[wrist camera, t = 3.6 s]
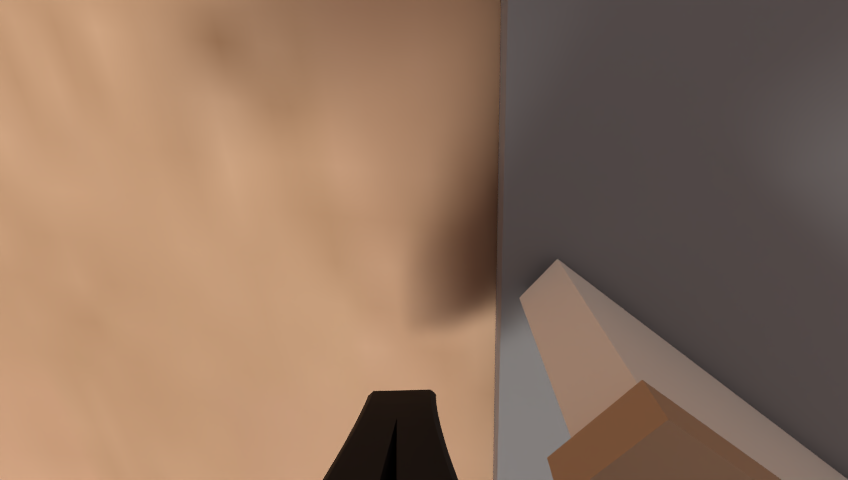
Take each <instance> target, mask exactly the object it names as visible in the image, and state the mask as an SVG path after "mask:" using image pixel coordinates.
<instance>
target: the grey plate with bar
mask: <svg viewBox="0 0 848 480" xmlns="http://www.w3.org/2000/svg"><path fill="white" fill-rule="evenodd" d="M557 259H558V260H560V261H561V262H562V263H564V264H565V265H566V266H568V267H569V268H570V269H571V270H573V271H574V272H575V273H577V274H578V275H579V276H581V277H582V278H583V279H585V280H586V281H587V282H589V283H590V284H591V285H593V286H594V287H595V288H596V289H598V290H599V291H600V292H602V293H603V294H604V295H606V296H607V297H608V298H610V299H611V300H612V301H614V302H615V303H616V304H618V305H619V306H620V307H622V308H623V309H624V310H625V311H627V312H628V313H629V314H631V315H632V316H633V317H635V318H636V319H637V320H639V321H640V322H641V323H643V324H644V325H645V326H647V327H648V328H649V329H650V330H652V331H653V332H654V333H656V334H657V335H658V336H660V337H661V338H662V339H664V340H665V341H666V342H668V343H669V344H670V345H672V346H673V347H674V348H675V349H677V350H678V351H679V352H681V353H682V354H683V355H685V356H686V357H687V358H689V359H690V360H691V361H693V362H694V363H695V364H697V365H698V366H699V367H700V368H702V369H703V370H704V371H706V372H707V373H708V374H710V375H711V376H712V377H714V378H715V379H716V380H718V381H719V382H720V383H722V384H723V385H724V386H726V387H727V388H728V389H729V390H731V391H732V392H733V393H735V394H736V395H737V396H739V397H740V398H741V399H743V400H744V401H745V402H747V403H748V404H749V405H751V406H752V407H753V408H754V409H756V410H757V411H758V412H760V413H761V414H762V415H764V416H765V417H766V418H768V419H769V420H770V421H772V422H773V423H774V424H776V425H777V426H778V427H779V428H781V429H782V430H783V431H785V432H786V433H787V434H789V435H790V436H791V437H793V438H794V439H795V440H797V441H798V442H799V443H801V444H802V445H803V446H804V447H806V448H807V449H808V450H810V451H811V452H812V453H814V454H815V455H816V456H818V457H819V458H820V459H822V460H823V461H824V462H826V463H827V464H828V465H830V466H831V467H832V468H833V469H835V470H836V471H837V472H839V473H840V474H841V475H843V476H844V477H845V478H847V479H848V0H501V41H500V101H499V161H498V221H497V281H496V341H495V401H494V461H493V480H553V477H552V473H551V470H550V467H549V463H548V460H547V457H548V456H550V455H551V454H552V453H553V452H555V451H556V450H557V449H558V448H559V447H561V446H562V445H563V444H564V443H566V442H567V441H568V440H569V439H570V438H571V436H570V433H569V431H568V428H567V425H566V423H565V420H564V417H563V415H562V412H561V409H560V406H559V404H558V401H557V398H556V396H555V393H554V390H553V388H552V385H551V382H550V379H549V377H548V374H547V371H546V369H545V366H544V363H543V361H542V358H541V355H540V353H539V350H538V347H537V344H536V342H535V339H534V336H533V334H532V331H531V328H530V326H529V323H528V320H527V317H526V315H525V312H524V309H523V307H522V304H521V301H520V299H519V298H520V297H521V296H522V294H523V293H524V292H525V291H526V290H527V289H528V288H529V287H530V286H531V285H532V284H533V283H534V282H535V281H536V280H537V279H538V278H539V277H540V276H541V275H542V274H543V273H544V272H545V271H546V270H547V269H548V268H549V267H550V266H551V265H552V264H553V263H554V262H555V261H556V260H557Z"/></svg>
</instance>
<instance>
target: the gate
mask: <svg viewBox="0 0 848 480" xmlns="http://www.w3.org/2000/svg"><path fill="white" fill-rule="evenodd" d="M519 299H520V301H521V304H522V307H523V309H524V312H525V315H526V317H527V320H528V323H529V326H530V328H531V331H532V334H533V336H534V339H535V342H536V344H537V347H538V350H539V353H540V355H541V358H542V361H543V363H544V366H545V369H546V371H547V374H548V377H549V379H550V382H551V385H552V388H553V390H554V393H555V396H556V398H557V401H558V404H559V406H560V409H561V412H562V415H563V417H564V420H565V423H566V425H567V428H568V431H569V433H570V436H571V438H570V439H569V440H568V441H567V442H566V443H564V444H563V445H562V446H561V447H559V448H558V449H557V450H556V451H555V452H553V453H552V454H551V455H550V456H548V457H547V460H548V463H549V467H550V470H551V473H552V477H553V480H848V479H847V478H845V477H844V476H843V475H841V474H840V473H839V472H837V471H836V470H835V469H833V468H832V467H831V466H830V465H828V464H827V463H826V462H824V461H823V460H822V459H820V458H819V457H818V456H816V455H815V454H814V453H812V452H811V451H810V450H808V449H807V448H806V447H804V446H803V445H802V444H801V443H799V442H798V441H797V440H795V439H794V438H793V437H791V436H790V435H789V434H787V433H786V432H785V431H783V430H782V429H781V428H779V427H778V426H777V425H776V424H774V423H773V422H772V421H770V420H769V419H768V418H766V417H765V416H764V415H762V414H761V413H760V412H758V411H757V410H756V409H754V408H753V407H752V406H751V405H749V404H748V403H747V402H745V401H744V400H743V399H741V398H740V397H739V396H737V395H736V394H735V393H733V392H732V391H731V390H729V389H728V388H727V387H726V386H724V385H723V384H722V383H720V382H719V381H718V380H716V379H715V378H714V377H712V376H711V375H710V374H708V373H707V372H706V371H704V370H703V369H702V368H700V367H699V366H698V365H697V364H695V363H694V362H693V361H691V360H690V359H689V358H687V357H686V356H685V355H683V354H682V353H681V352H679V351H678V350H677V349H675V348H674V347H673V346H672V345H670V344H669V343H668V342H666V341H665V340H664V339H662V338H661V337H660V336H658V335H657V334H656V333H654V332H653V331H652V330H650V329H649V328H648V327H647V326H645V325H644V324H643V323H641V322H640V321H639V320H637V319H636V318H635V317H633V316H632V315H631V314H629V313H628V312H627V311H625V310H624V309H623V308H622V307H620V306H619V305H618V304H616V303H615V302H614V301H612V300H611V299H610V298H608V297H607V296H606V295H604V294H603V293H602V292H600V291H599V290H598V289H596V288H595V287H594V286H593V285H591V284H590V283H589V282H587V281H586V280H585V279H583V278H582V277H581V276H579V275H578V274H577V273H575V272H574V271H573V270H571V269H570V268H569V267H568V266H566V265H565V264H564V263H562V262H561V261H560V260H558V259H557V260H556V261H555V262H554V263H553V264H552V265H551V266H550V267H549V268H548V269H547V270H546V271H545V272H544V273H543V274H542V275H541V276H540V277H539V278H538V279H537V280H536V281H535V282H534V283H533V284H532V285H531V286H530V287H529V288H528V289H527V290H526V291H525V292H524V293H523V294H522V296H521V297H520V298H519Z"/></svg>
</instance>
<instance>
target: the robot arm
mask: <svg viewBox="0 0 848 480" xmlns="http://www.w3.org/2000/svg"><path fill="white" fill-rule="evenodd" d="M323 480H458V478H457V476H456V473H455V470H454V467H453V465H452V462H451V459H450V456H449V453H448V450H447V447H446V444H445V440H444V437H443V433H442V429H441V426H440V421H439V417H438V412H437V405H436V394H435V393H434V392H433V391H431V390H401V391H373V392H372V393H371V394H370V395H369V396H368V398H367V400H366V403H365V405H364V407H363V409H362V411H361V413H360V415H359V417H358V419H357V421H356V423H355V425H354V427H353V429H352V430H351V432H350V434H349V436H348V438H347V440H346V441H345V443H344V445H343V447H342V449H341V450H340V452H339V454H338V455H337V457H336V459H335V460H334V462H333V464H332V465H331V467H330V469H329V470H328V472H327V474H326V475H325V477H324V479H323Z"/></svg>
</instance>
